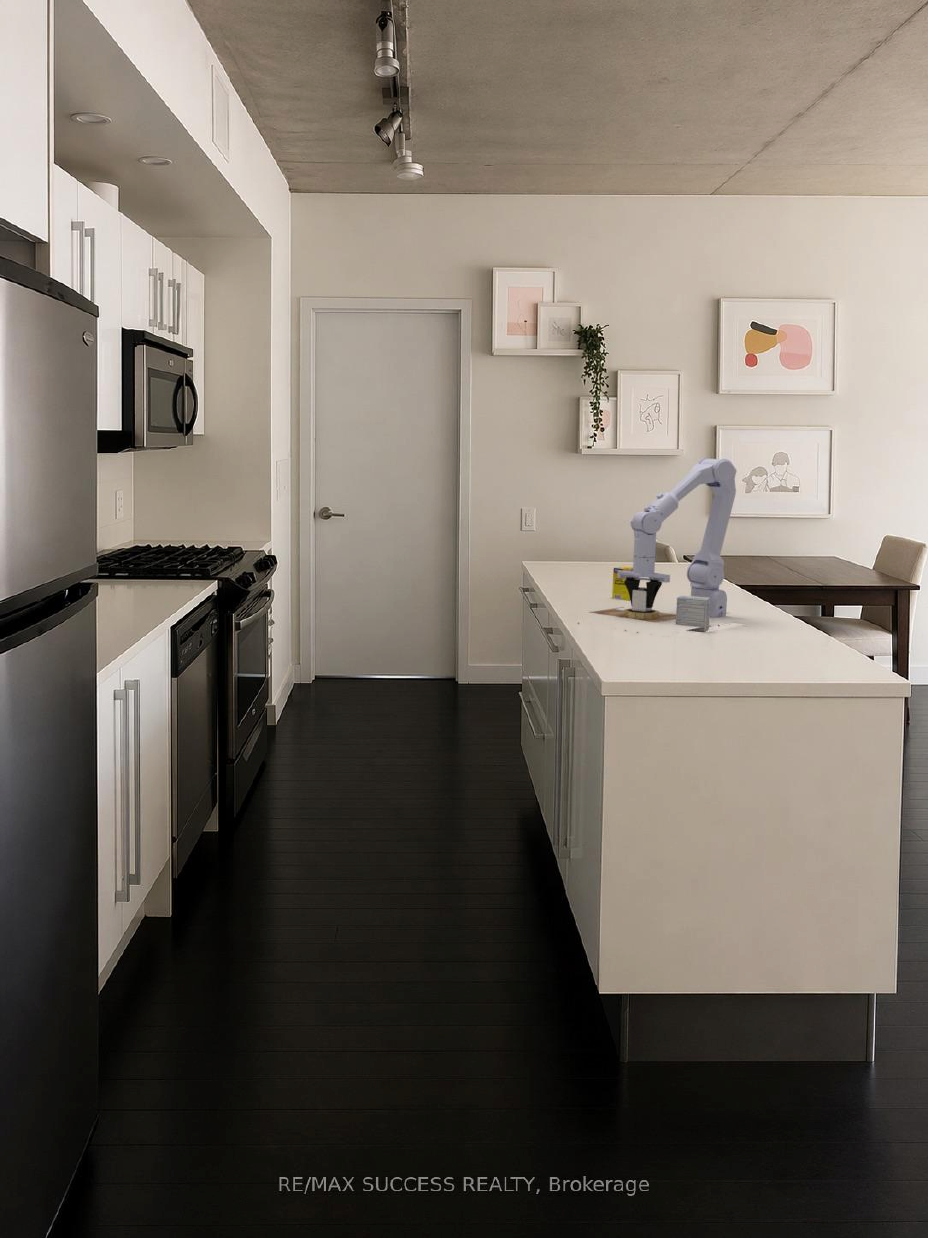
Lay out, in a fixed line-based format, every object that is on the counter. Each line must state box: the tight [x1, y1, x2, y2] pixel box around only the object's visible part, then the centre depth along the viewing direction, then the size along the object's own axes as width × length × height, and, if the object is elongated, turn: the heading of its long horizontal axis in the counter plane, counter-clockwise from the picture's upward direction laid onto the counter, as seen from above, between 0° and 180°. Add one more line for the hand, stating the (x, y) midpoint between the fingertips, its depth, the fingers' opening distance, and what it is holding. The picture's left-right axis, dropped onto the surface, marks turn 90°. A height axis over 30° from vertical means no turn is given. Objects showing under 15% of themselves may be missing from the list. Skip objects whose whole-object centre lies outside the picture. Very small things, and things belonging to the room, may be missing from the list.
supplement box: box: [611, 565, 633, 602], centre depth 341 cm, size 6×6×11 cm
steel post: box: [631, 586, 653, 613], centre depth 306 cm, size 4×4×8 cm
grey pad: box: [614, 606, 632, 612], centre depth 317 cm, size 7×7×1 cm
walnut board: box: [589, 606, 676, 623], centre depth 311 cm, size 22×16×2 cm
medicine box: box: [675, 595, 710, 633], centre depth 295 cm, size 8×4×9 cm, turn 65°
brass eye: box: [624, 608, 660, 620], centre depth 306 cm, size 9×9×2 cm
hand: (641, 606), depth 306 cm, fingers closed on steel post, 4 cm apart
